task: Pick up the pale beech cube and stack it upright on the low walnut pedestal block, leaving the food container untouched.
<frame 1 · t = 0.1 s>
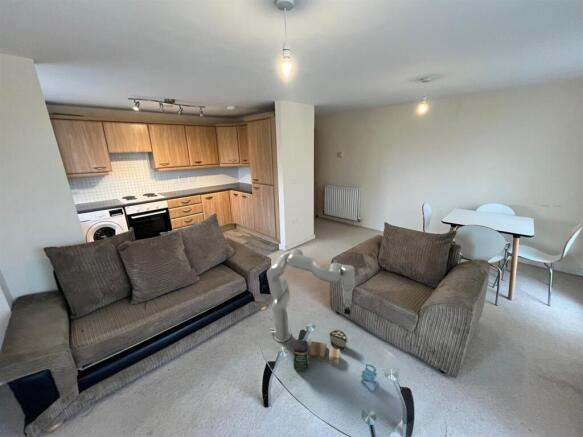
hand: (347, 308, 150), 31 cm above the table, fingers open, 9 cm apart
food container: (339, 345, 162), on the table
pedestal: (317, 353, 157), on the table
beech cube: (334, 360, 152), on the table
coffee jar: (301, 366, 149), on the table
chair: (368, 383, 136), on the table
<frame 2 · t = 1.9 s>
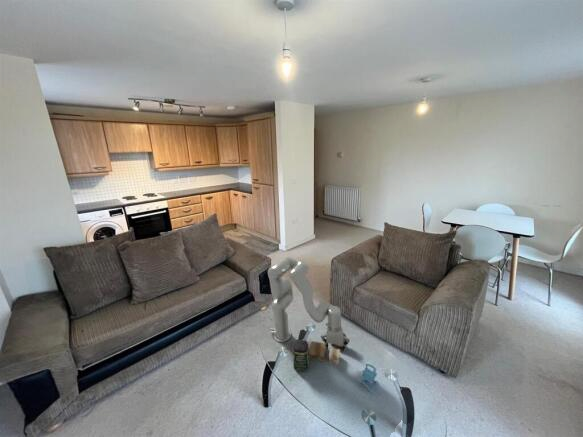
hand: (335, 348, 148), 10 cm above the table, fingers open, 9 cm apart
nothing on the table moved.
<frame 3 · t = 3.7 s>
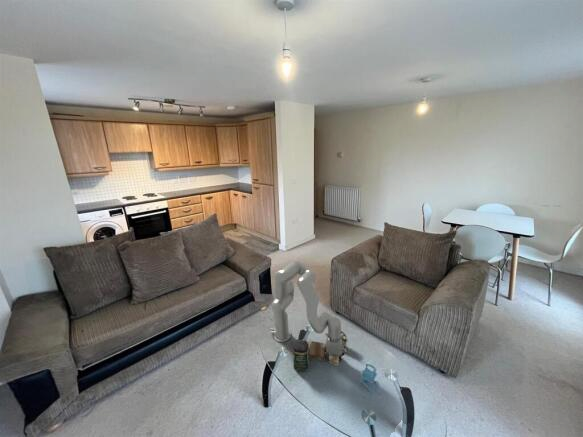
hand: (334, 358, 151), 1 cm above the table, fingers closed on beech cube, 6 cm apart
beech cube: (334, 359, 151), on the table, touching gripper
everything else where it was.
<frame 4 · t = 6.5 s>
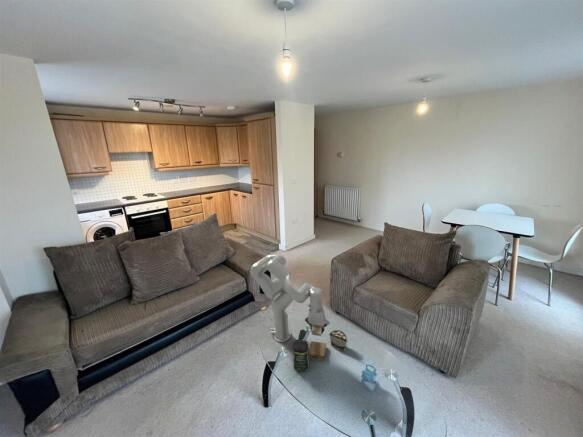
hand: (317, 330, 151), 18 cm above the table, fingers closed on beech cube, 6 cm apart
beech cube: (317, 331, 151), point 17 cm above the table, touching gripper
everything else where it was.
when the fingers open (6 cm above the table, at t = 9.4 s): beech cube drops 2 cm, resting on pedestal.
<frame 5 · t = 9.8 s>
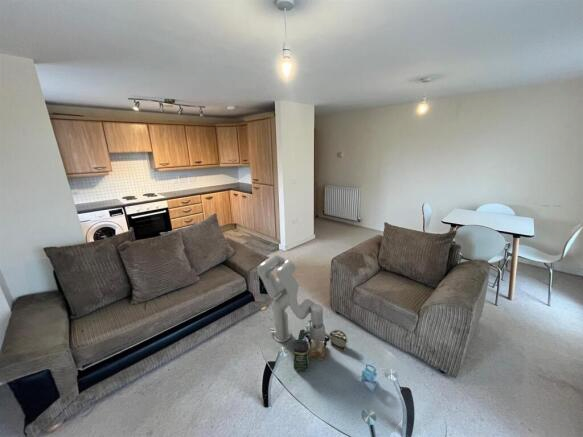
hand: (317, 344, 155), 7 cm above the table, fingers open, 9 cm apart
pedestal: (317, 353, 157), on the table, touching beech cube
beech cube: (317, 348, 156), point 4 cm above the table, touching pedestal
everything else where it was.
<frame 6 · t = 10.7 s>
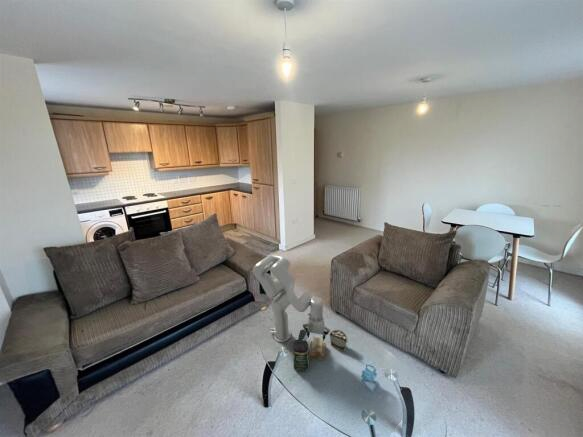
hand: (316, 337, 154), 12 cm above the table, fingers open, 9 cm apart
nothing on the table moved.
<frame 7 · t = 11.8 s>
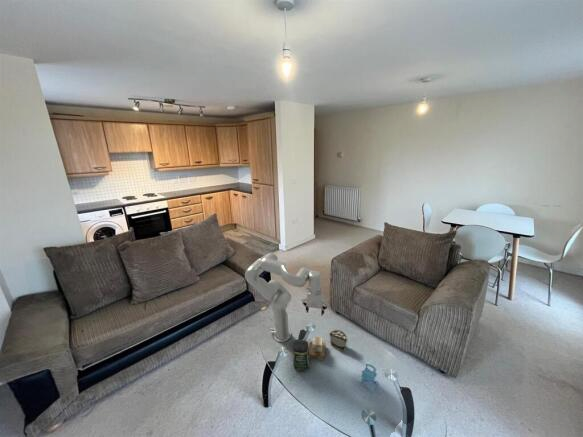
hand: (314, 312, 154), 27 cm above the table, fingers open, 9 cm apart
pedestal: (317, 353, 157), on the table
beech cube: (317, 348, 156), point 4 cm above the table
everything else where it was.
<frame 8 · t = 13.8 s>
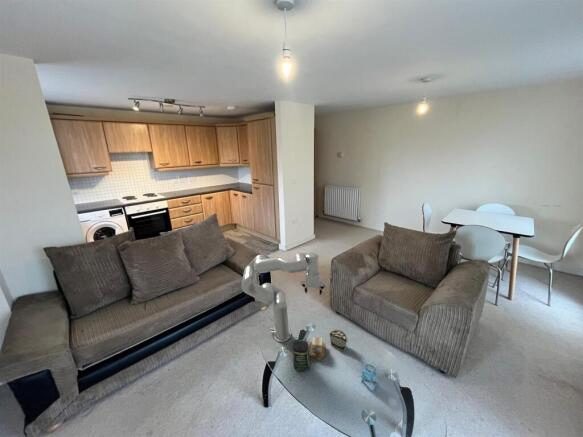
hand: (313, 293, 163), 33 cm above the table, fingers open, 9 cm apart
pedestal: (317, 353, 157), on the table, touching beech cube
beech cube: (317, 348, 156), point 4 cm above the table, touching pedestal
everything else where it was.
at the end: beech cube inside the target area on the pedestal (0.4 cm from its centre), point 4.0 cm above the pedestal's base; beech cube tilted 0°; the gripper is holding nothing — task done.
